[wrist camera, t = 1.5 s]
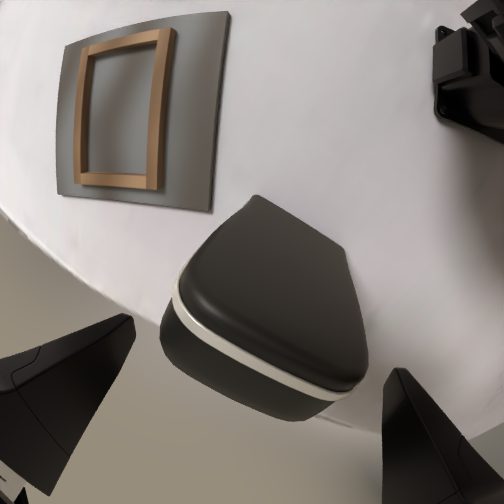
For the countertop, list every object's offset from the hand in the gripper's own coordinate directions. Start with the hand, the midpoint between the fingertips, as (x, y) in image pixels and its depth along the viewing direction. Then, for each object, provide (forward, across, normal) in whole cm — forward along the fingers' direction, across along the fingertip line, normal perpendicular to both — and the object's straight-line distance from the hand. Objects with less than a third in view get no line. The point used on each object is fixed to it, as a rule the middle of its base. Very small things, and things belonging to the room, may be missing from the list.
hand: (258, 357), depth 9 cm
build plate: (+10, +12, -8) cm, 18 cm away
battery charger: (+10, 0, 0) cm, 10 cm away
